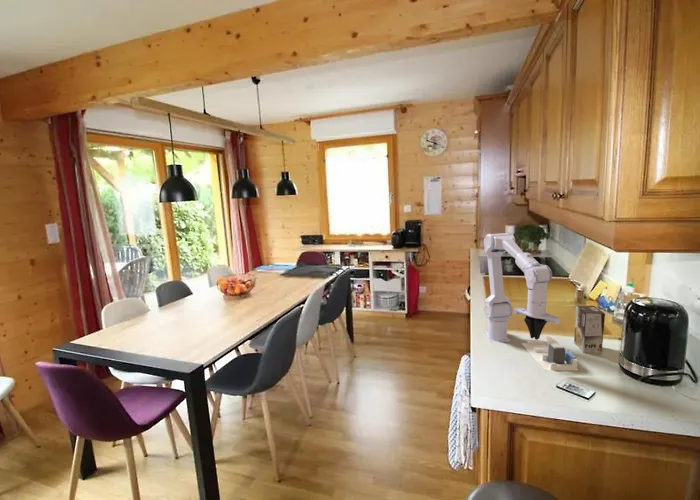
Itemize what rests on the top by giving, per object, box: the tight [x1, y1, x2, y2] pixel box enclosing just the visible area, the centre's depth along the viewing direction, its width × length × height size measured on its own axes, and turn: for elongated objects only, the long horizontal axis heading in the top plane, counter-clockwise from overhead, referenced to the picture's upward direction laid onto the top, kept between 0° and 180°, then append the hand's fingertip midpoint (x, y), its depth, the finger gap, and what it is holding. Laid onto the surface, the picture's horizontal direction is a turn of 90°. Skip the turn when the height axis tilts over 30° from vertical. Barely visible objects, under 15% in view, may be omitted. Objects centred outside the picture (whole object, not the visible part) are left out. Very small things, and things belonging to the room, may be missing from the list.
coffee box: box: [573, 305, 606, 355], centre depth 135 cm, size 9×6×16 cm
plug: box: [548, 343, 565, 364], centre depth 125 cm, size 4×4×7 cm
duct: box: [521, 334, 579, 371], centre depth 132 cm, size 21×11×4 cm, turn 175°
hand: (535, 338), depth 125 cm, fingers closed
